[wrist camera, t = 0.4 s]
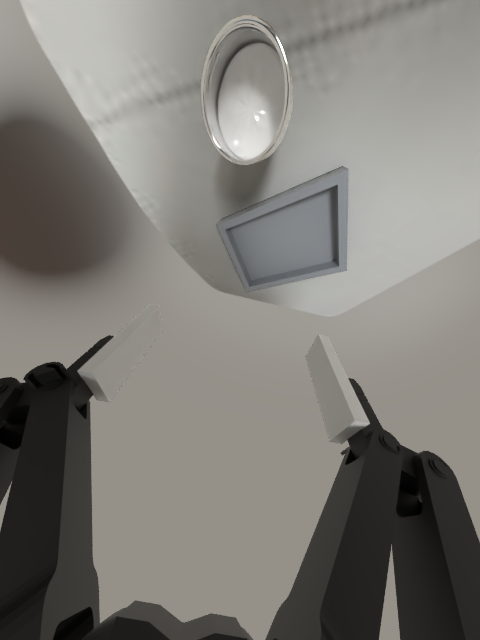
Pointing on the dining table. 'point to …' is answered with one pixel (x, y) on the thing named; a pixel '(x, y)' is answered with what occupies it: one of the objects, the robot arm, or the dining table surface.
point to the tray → (291, 233)
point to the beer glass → (246, 91)
